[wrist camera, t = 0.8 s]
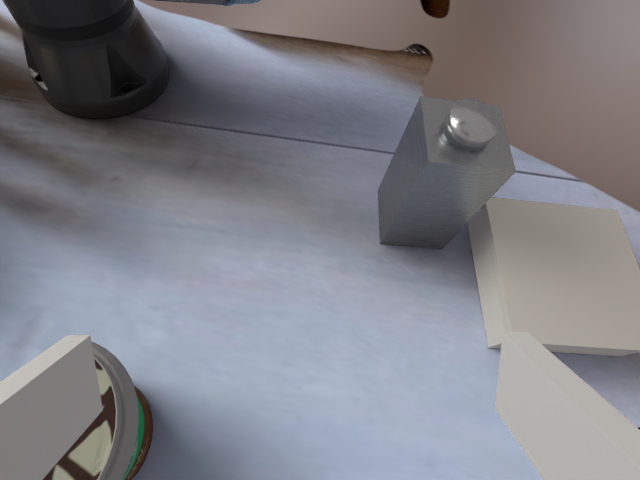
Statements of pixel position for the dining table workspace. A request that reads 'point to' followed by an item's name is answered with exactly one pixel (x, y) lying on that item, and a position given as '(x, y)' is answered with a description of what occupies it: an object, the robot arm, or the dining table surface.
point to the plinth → (557, 276)
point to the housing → (442, 171)
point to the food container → (110, 429)
